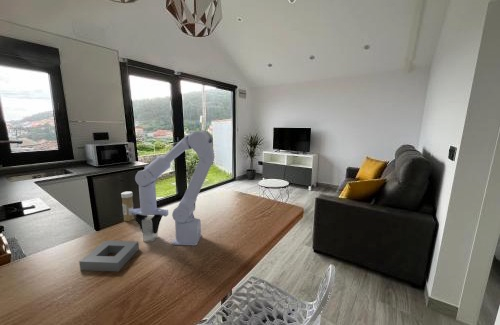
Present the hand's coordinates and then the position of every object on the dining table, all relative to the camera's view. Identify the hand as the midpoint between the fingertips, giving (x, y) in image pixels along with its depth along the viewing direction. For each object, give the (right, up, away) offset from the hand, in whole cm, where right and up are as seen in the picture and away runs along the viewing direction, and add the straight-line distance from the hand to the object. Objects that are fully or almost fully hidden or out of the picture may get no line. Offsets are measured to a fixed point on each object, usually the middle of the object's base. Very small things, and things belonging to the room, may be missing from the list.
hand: (150, 232), depth 84 cm
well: (-7, -5, -12) cm, 15 cm away
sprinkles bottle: (-18, 0, +16) cm, 24 cm away
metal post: (0, -3, +1) cm, 3 cm away
